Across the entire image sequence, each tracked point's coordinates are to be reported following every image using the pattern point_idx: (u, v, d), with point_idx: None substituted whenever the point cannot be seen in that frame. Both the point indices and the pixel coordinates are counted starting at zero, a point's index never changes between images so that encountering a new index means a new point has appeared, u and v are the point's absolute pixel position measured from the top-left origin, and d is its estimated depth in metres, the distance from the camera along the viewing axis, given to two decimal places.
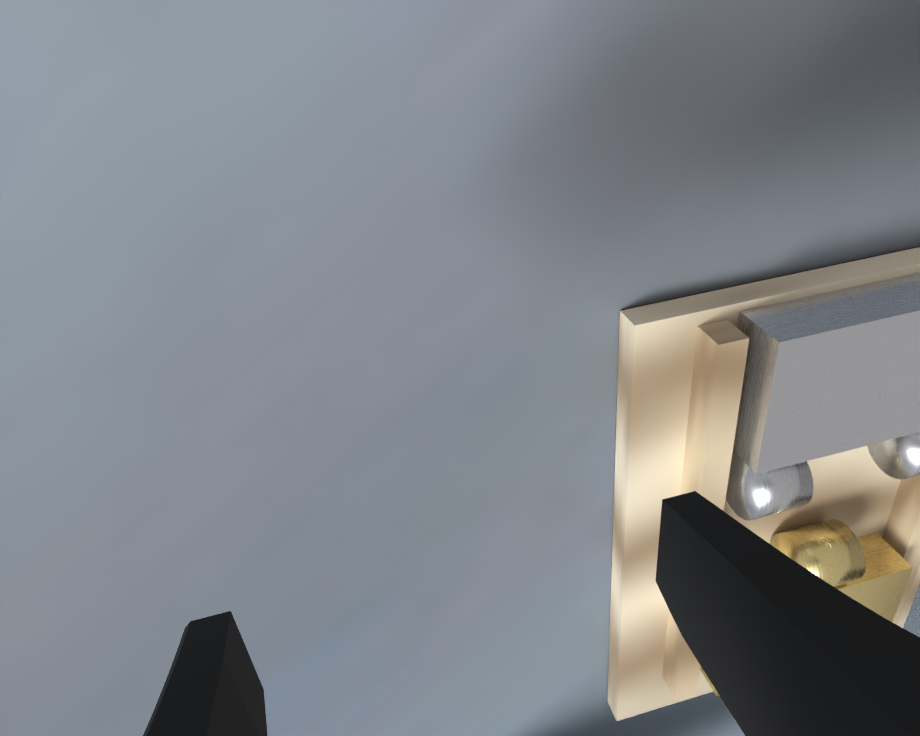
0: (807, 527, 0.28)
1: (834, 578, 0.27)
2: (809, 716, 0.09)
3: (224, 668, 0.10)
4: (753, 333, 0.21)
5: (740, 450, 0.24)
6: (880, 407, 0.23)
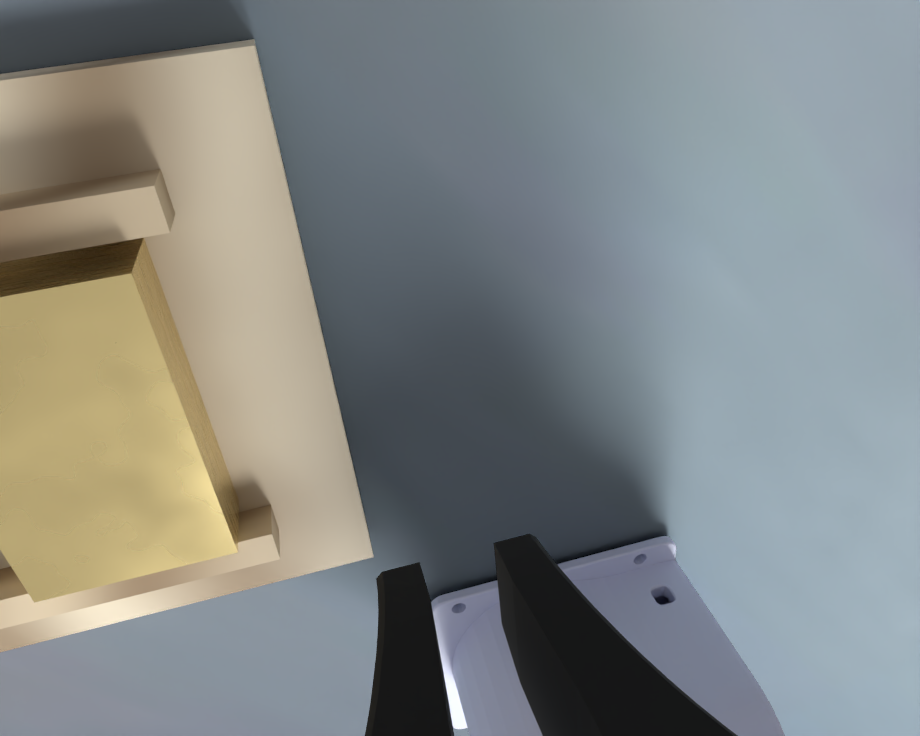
0: None
1: None
2: None
3: (432, 612, 0.10)
4: None
5: None
6: None
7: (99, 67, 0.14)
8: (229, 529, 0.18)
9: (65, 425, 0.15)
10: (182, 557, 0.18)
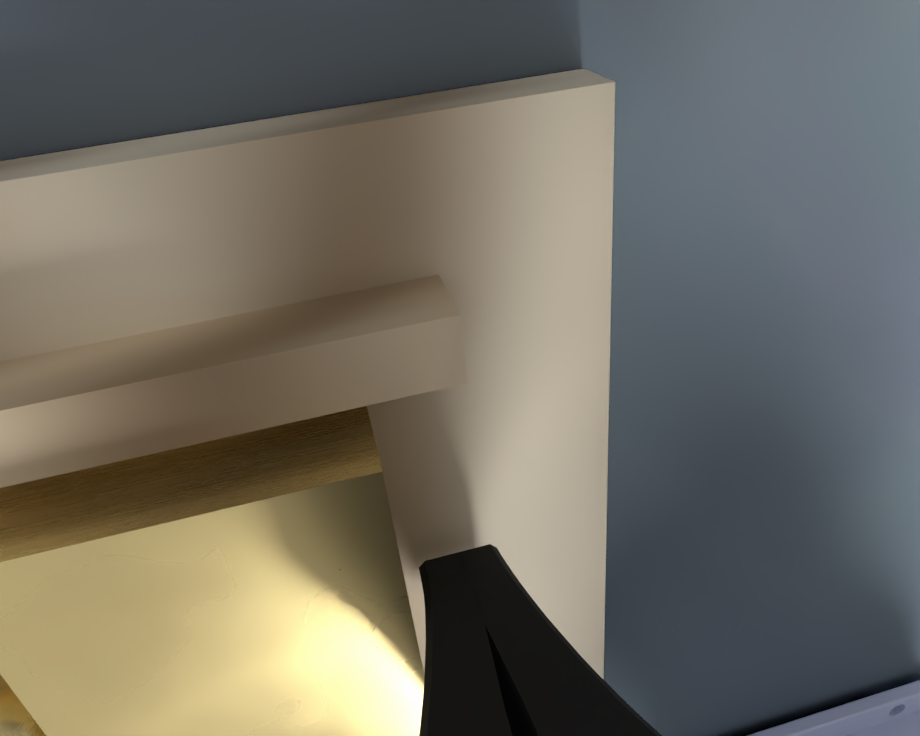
0: None
1: None
2: None
3: (478, 599, 0.10)
4: None
5: None
6: None
7: (375, 121, 0.08)
8: None
9: (245, 683, 0.10)
10: None
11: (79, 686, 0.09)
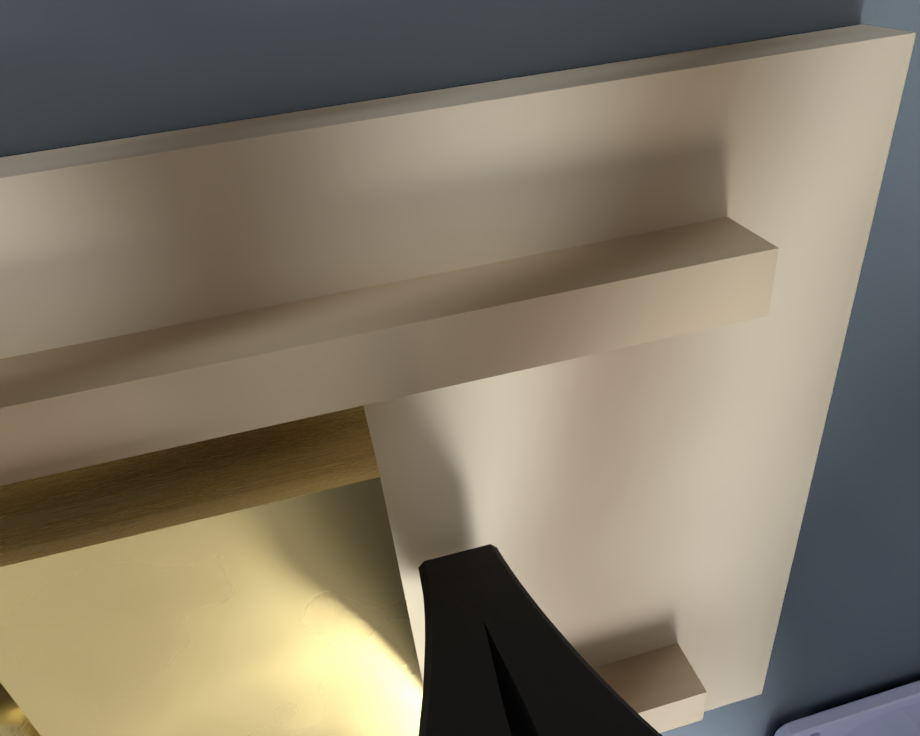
0: None
1: None
2: None
3: (478, 599, 0.10)
4: None
5: None
6: None
7: (707, 66, 0.09)
8: None
9: (242, 689, 0.10)
10: None
11: (77, 691, 0.09)
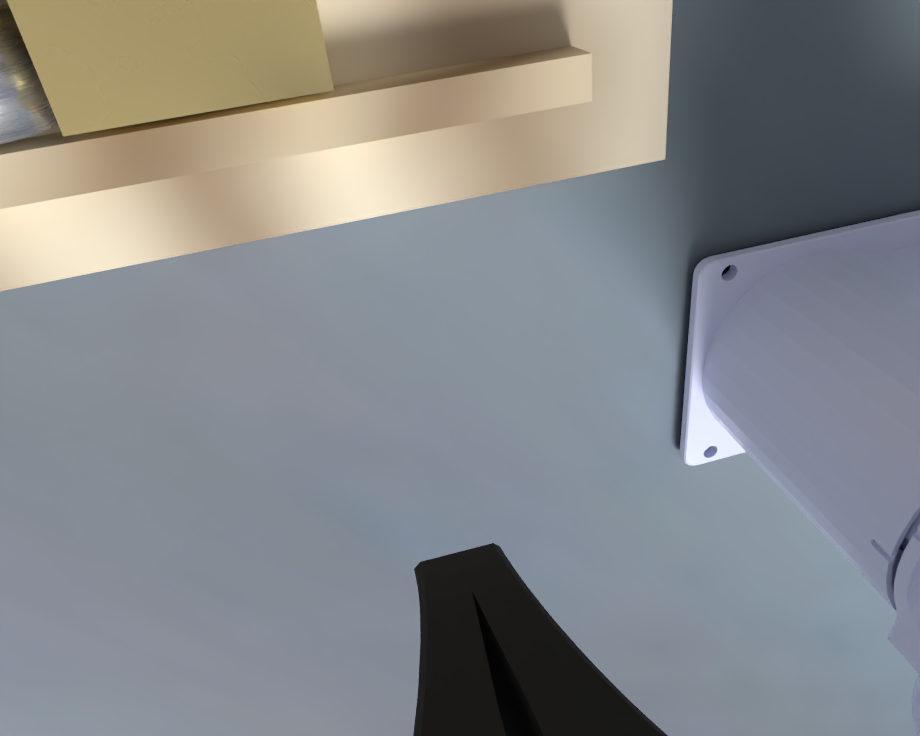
0: None
1: None
2: None
3: (474, 600, 0.10)
4: None
5: None
6: None
7: None
8: (324, 45, 0.13)
9: None
10: (260, 85, 0.13)
11: None
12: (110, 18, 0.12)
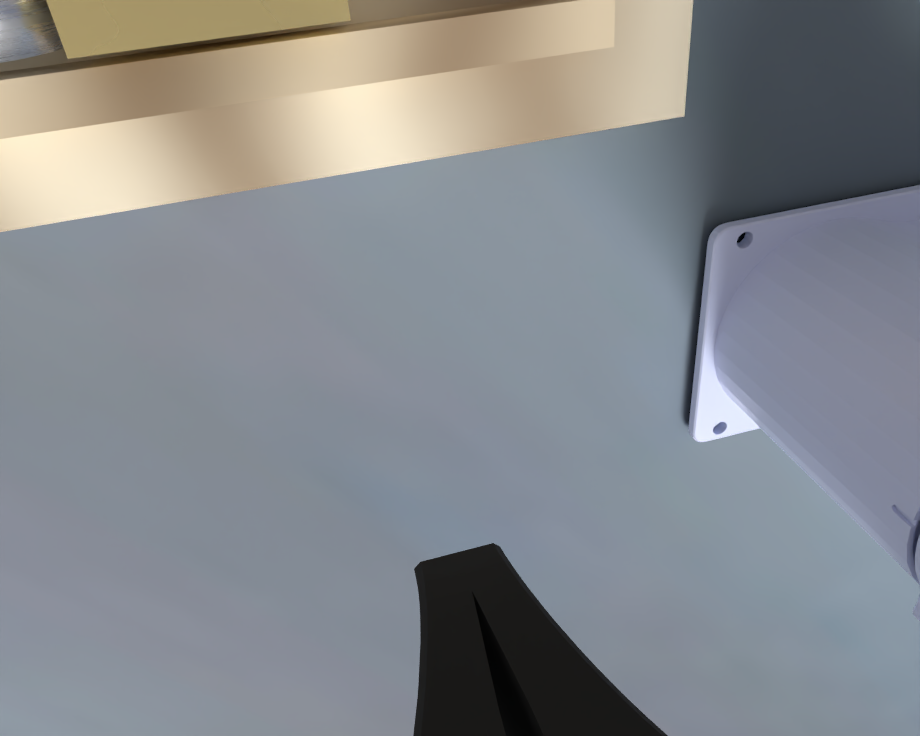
0: None
1: None
2: None
3: (474, 601, 0.10)
4: None
5: None
6: None
7: None
8: None
9: None
10: (275, 11, 0.13)
11: None
12: None
